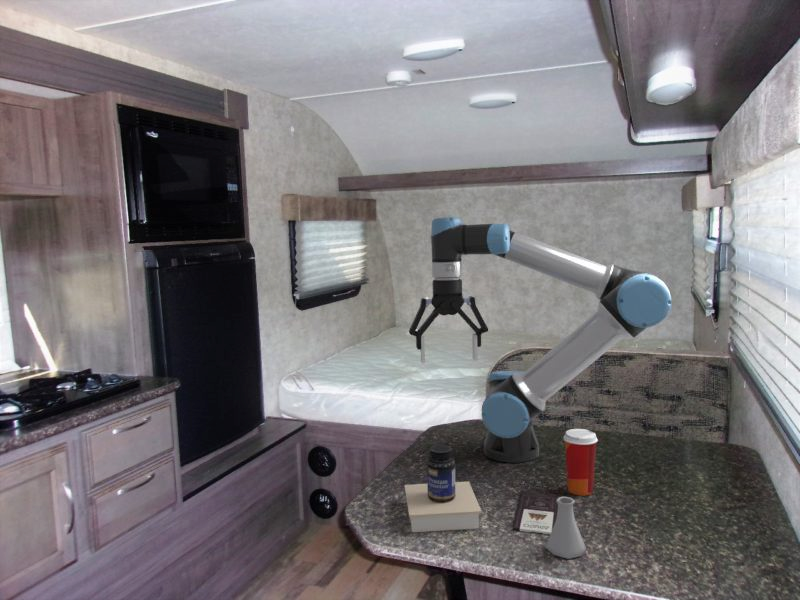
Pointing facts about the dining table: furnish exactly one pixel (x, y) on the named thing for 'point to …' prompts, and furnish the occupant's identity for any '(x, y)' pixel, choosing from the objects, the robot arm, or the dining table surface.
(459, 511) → the podium
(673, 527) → the dining table surface
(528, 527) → the chocolate bar
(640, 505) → the dining table surface
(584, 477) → the paper cup
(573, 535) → the flask
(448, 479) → the pill bottle
